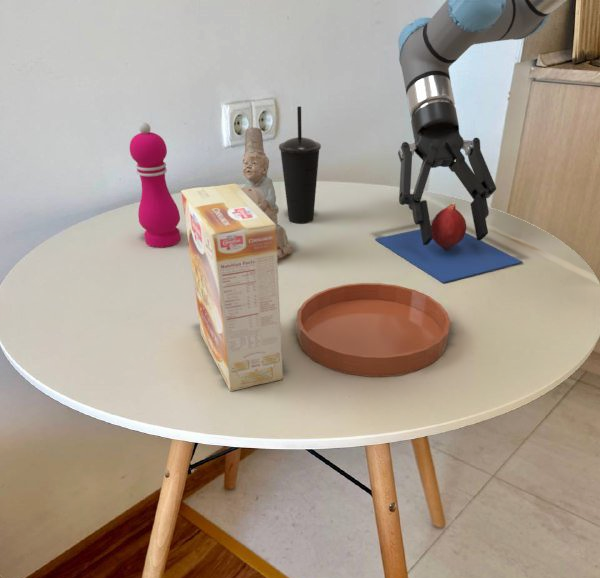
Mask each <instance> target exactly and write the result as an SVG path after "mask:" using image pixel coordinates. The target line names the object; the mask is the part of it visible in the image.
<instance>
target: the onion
mask: <svg viewBox="0 0 600 578" xmlns="http://www.w3.org/2000/svg"><path fill="white" fill-rule="evenodd" d="M456 206H457V205H456V203H455V202H451V203H450V204H449V205H447V206H446V207H445V208H443V209H441V210H440V211H439V212H438V213H437V214H436V215H435V216H434V218H433V219H432V222H430V224H431V229H432V235H433V240H434V241H435V242H436V243H437V244H438V245H439V246H440V247H442V248H443V249H444V250H448V249H450V248H451V247H453V246H454V245H456V244H458V243H459V242H460V241H461V240H462V239H463V237H464V235H465V232H466V233H467V222H466V219H465V217H464V215H463V214H462V213H461V212H460V211H459V210H458V209H457V208H456Z"/></svg>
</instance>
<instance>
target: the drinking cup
mask: <svg viewBox="0 0 600 578" xmlns="http://www.w3.org/2000/svg"><path fill="white" fill-rule="evenodd" d="M296 111H297V114H296V115H297V136H296V137H292V138H289V139H286V140H285V141H283V142H281V143H280V144H278V150H279V151H280V156H281V164H282V167H281V168H282V175H283V182H284V191H285V200H286V207H287V208H286V209H287V216H288V221H289V222H291V223H293V224H307V223H311V222H312V221H313V220H314V215H315V207H316V206H315V205H316V193H317V180H318V171H319V170H318V169H319V158H320V150H321V148H322V145H321V143H320V142H317V141H315V140H314V139H312V138H308V137H302V136H303V135H302V133H303V131H302V106H297V108H296Z"/></svg>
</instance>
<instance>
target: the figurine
mask: <svg viewBox="0 0 600 578" xmlns="http://www.w3.org/2000/svg"><path fill="white" fill-rule="evenodd" d="M242 164H243V168H242V175H243V176H244V177H245V178H246V181H245V185H244V186H242V187H240V189H241V190H242V191H243V192H244V193H245V194H246V195H247V196H248V197H249V198H250V199H251V200H252V201H253V202H254V203H255V204H256V205H257V206H258V207H259V208H260V209H261V210H262V211H263V212H264V213H265V214H266V215H267V216H268V217H269V218H270V219H271V220H272V221H273V222H274V223H275V224H276V243H277V260H279V259H282V258H283V257H285V256H286V255H290V254H292V253H293V246H292V244H291V243H289V242H290V241H289V239H288V236H287V231H286V229H285V228H284V227H283V226H282V225H280V224H279V222H278V214H279V213H280V210H279V209H280V208H279V206H278V205H277V195H276V190H275V186H274V183H273V180H272V179H271V178H270V177H268V172H269V167H270V166H269V165H270V159H269V157H268V156H267V154H266V153H265V149H264V139H263V133H262V129H261V128H259V127H248V128H246V129H245V131H244V154H243V158H242Z"/></svg>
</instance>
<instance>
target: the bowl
mask: <svg viewBox="0 0 600 578" xmlns="http://www.w3.org/2000/svg"><path fill="white" fill-rule="evenodd" d="M450 328H451V320H450V317H449V313H448V311H447V310H446V309H445V308H444V307H443V306H442V304H441V303H440V302H438V301H437V300H435V299H433V298H432V297H431V296H429V295H427V294H425V293H423V292H421V291H418V290H416V289H412V288H408V287H405V286H402V285H401V286H400V285H396V284H389V283H383V282H382V283H380V282H359V283H348V284H347V283H346V284H341V285H337V286H334V287H329V288H326V289H324V290H321V291H318V292H317V293H315V294H313V295H311V296H310V297H309V298H308V299H306V300H305V301H303V302H302V304H301V306H300V307H299V308H298V310H297V315H296V336H297V340H298V344H299V346H300V348H301V349H302V351H303V352H304V353H305V355H307V356H308V357H309V358H310V359H312V360H313V361H315V362H317V363H318V364H320V365H322V366H324V367H326V368H328V369H331V370H334V371H337V372H341V373H345V374H349V375H354V376H362V377H393V376H400V375H405V374H410V373H413V372H417V371H419V370H422V369H424V368H426V367H428V366H430V365H432V364H433V363H435V362H436V361H437V360H438V359H439V358H441V356H442V355H443V353H444V352H445V350H446V348H447V345H448V340H449V335H450Z"/></svg>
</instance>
